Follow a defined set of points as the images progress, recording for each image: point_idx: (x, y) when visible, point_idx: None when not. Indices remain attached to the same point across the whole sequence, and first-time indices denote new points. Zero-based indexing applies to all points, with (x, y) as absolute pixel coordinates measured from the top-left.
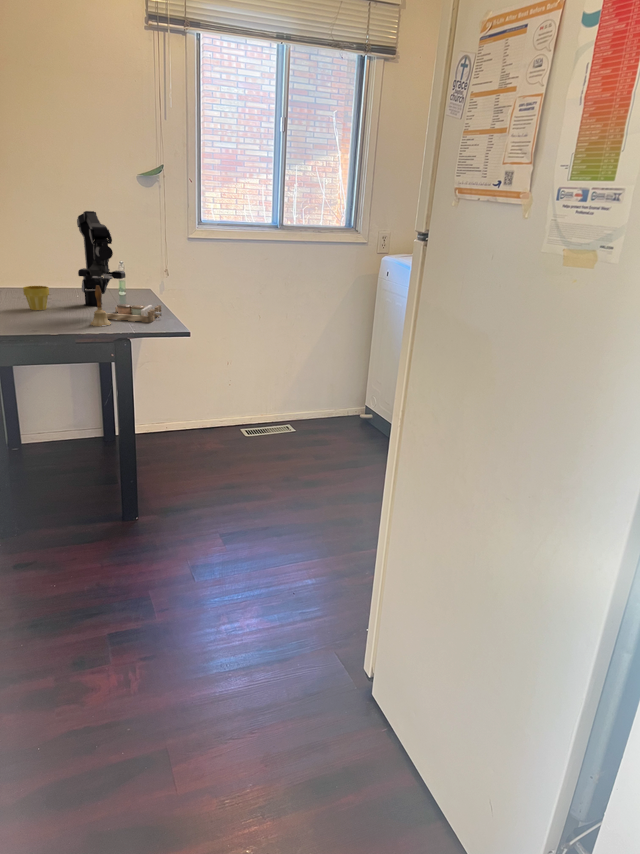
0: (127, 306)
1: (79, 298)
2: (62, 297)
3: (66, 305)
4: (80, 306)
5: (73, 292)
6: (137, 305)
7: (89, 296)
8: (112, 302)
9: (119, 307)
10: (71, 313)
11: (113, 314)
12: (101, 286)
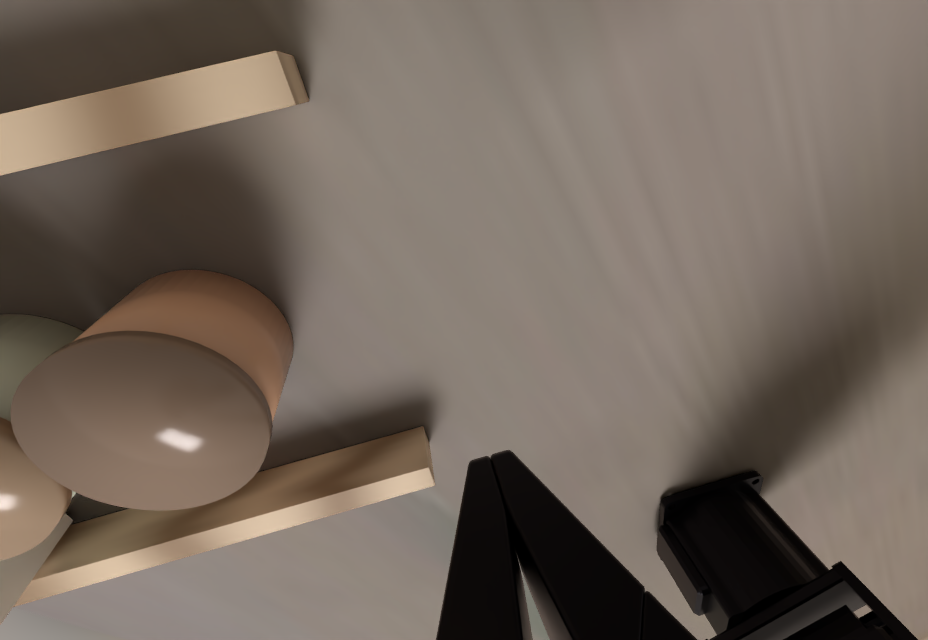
0: (26, 404)
1: None
2: (915, 541)
3: (873, 411)
4: (772, 440)
5: None
6: (8, 527)
7: (769, 551)
8: None
9: (143, 333)
10: (783, 171)
11: (92, 95)
12: (563, 625)
